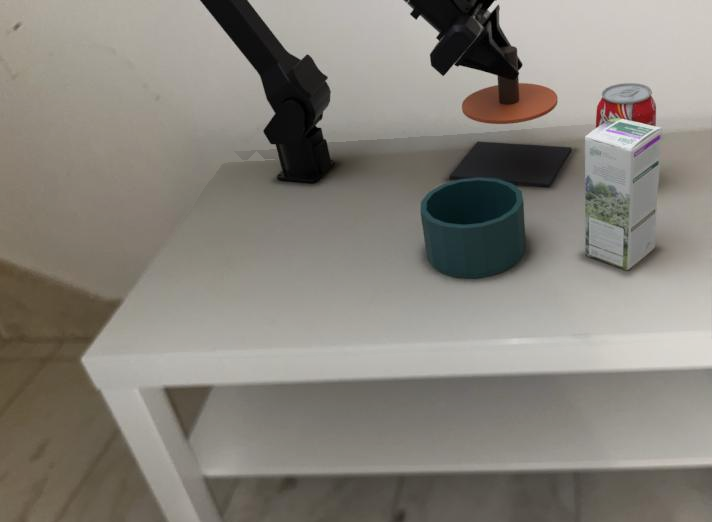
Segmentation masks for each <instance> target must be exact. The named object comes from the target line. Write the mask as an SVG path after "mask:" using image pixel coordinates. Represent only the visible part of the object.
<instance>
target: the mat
mask: <svg viewBox="0 0 712 522" xmlns="http://www.w3.org/2000/svg"><path fill="white" fill-rule="evenodd" d="M571 153H572V147H570V146H554V145H541V144H538V145H537V144H524V143H509V142H508V143H507V142H493V141H492V142H491V141H476V143H475V144H474V145H473V146H472V147H471V149H470V150H469V151H468V153H467V154H466V155H465V156H464V157H463V158H462V160H461V161H460V162H459V163H458V164H457V166H456V167H455V169H453V170H452V172H451V173H450V174H449V179H450V180H459V179H467V178H477V177H482V178H495V179H500V180H503V181H506V182H509V183H512V184H514V185H517V186H528V187H529V186H530V187H540V188H541V187H543V188H550V187H551V185H552V183H553V182H554V180H555V178H556V177H557V175H558V174H559V172H560V170H561V169H562V168H563V165H564V164H565V162H566V160H567V159H568V157H569V156H570V154H571Z"/></svg>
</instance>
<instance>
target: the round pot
mask: <svg viewBox="0 0 712 522" xmlns="http://www.w3.org/2000/svg"><path fill="white" fill-rule="evenodd" d="M419 212H420V217H421V226H422V231H423V239H424V245H425V252H426V253H425V254H426V258H427V260H428V262H429V264H430V266H431V267H432V268H433V269H434V270H436V271H438V272H439V273H441V274H444V275H446V276H449V277H454V278H459V279H478V278H486V277H490V276H495V275H498V274H500V273H504V272H506V271H507V270H510V269H511V268H512V267H514V266H515V265H517V264H518V263H519V262H520V261H521V260H522V258H523V257H524V255H525V252H526V247H527V246H526V245H527V244H526V225H525V223H526V222H525V205H524V196H523V191H522V190H520V188H519V187H517V186H516V184H512V183H509V182H506V181H503V180H500V179H495V178H482V177H477V178H467V179H459V180H458V179H455V180H453V181H449V182H446V183H443V184H441V185H439V186H437V187H435V188H433V189H432V190H429V192H428V193H427V194H426V195H425V196H424V197H423V199H422V200H421V201H420V211H419Z"/></svg>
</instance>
